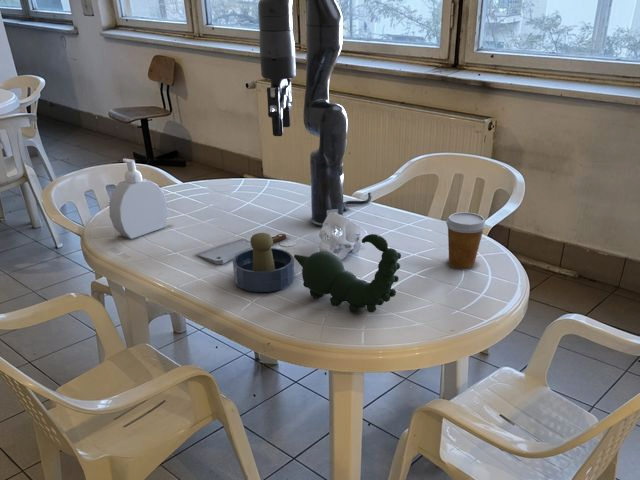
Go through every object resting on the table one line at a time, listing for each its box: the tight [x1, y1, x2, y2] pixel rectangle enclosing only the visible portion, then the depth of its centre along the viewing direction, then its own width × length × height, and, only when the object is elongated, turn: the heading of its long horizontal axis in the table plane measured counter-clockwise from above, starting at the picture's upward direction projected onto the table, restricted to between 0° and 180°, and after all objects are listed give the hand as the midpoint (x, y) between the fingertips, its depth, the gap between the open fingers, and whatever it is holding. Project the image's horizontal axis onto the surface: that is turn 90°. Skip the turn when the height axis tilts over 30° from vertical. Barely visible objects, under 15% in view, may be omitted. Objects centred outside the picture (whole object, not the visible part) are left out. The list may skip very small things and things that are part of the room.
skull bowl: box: [317, 212, 369, 261], centre depth 160 cm, size 10×14×12 cm
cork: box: [250, 232, 275, 271], centre depth 144 cm, size 6×6×11 cm
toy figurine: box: [293, 233, 402, 314], centre depth 133 cm, size 9×19×25 cm
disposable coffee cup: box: [445, 211, 487, 270], centre depth 152 cm, size 10×10×12 cm
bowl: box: [232, 247, 296, 293], centre depth 146 cm, size 14×14×6 cm
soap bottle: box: [108, 158, 169, 240], centre depth 170 cm, size 16×5×20 cm, turn 141°
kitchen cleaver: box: [196, 233, 287, 265], centre depth 164 cm, size 24×1×10 cm
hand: (282, 131), depth 141 cm, fingers open, 8 cm apart
